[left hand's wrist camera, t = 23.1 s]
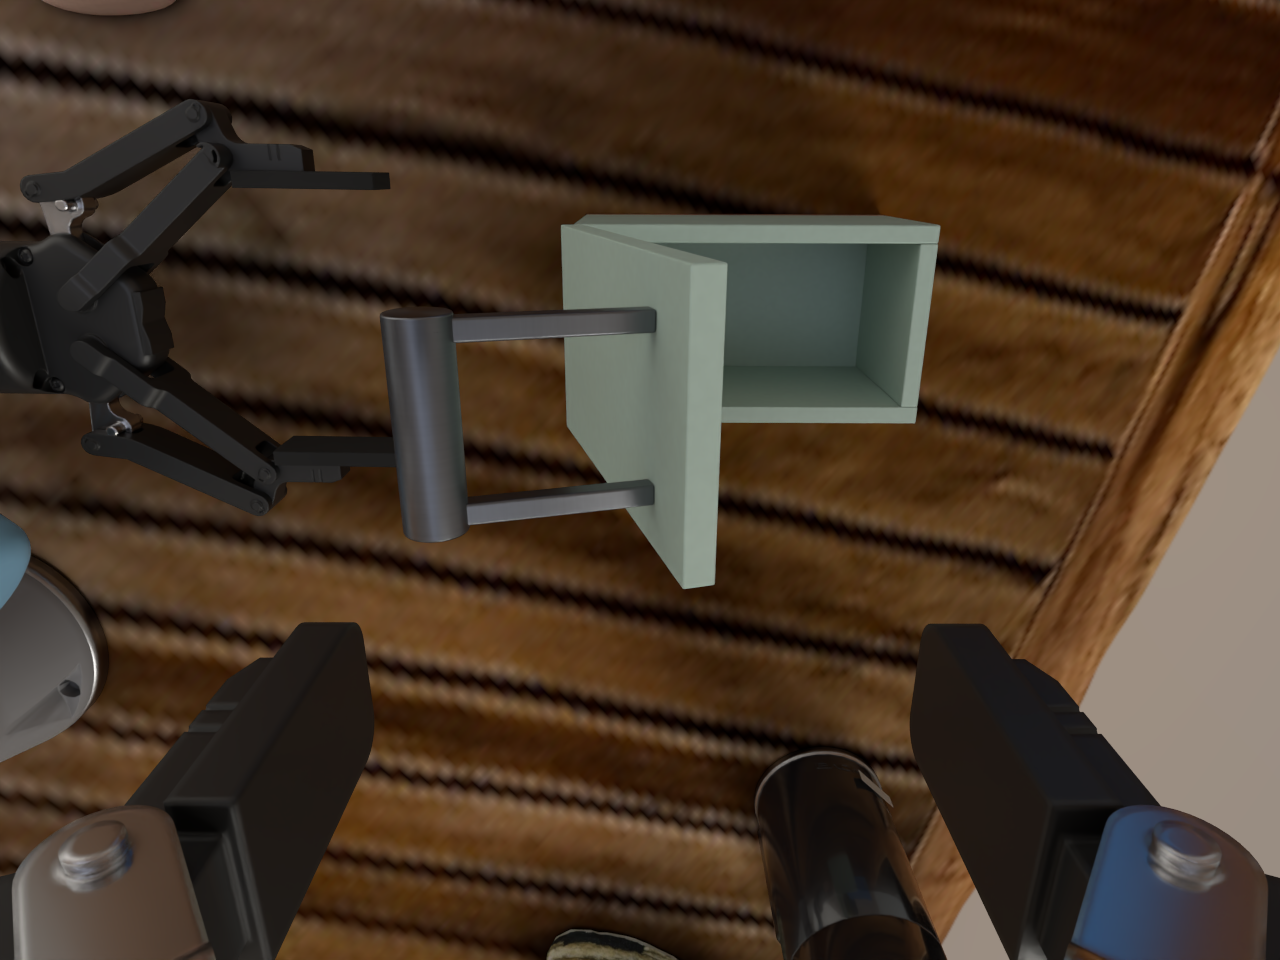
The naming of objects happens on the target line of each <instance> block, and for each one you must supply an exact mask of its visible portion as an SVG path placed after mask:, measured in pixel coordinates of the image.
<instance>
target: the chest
mask: <svg viewBox="0 0 1280 960" xmlns="http://www.w3.org/2000/svg"><path fill="white" fill-rule="evenodd" d="M574 225H586V226H590V227H594V228H597V229H601V230H605V231H609V232H613V233H616V234H620V235H624V236H628V237H632V238H635V239H639V240H643V241H647V242H651V243H654V244H658V245H662V246H666V247H669V248H673V249H677V250H681V251H685V252H688V253H692V254H696V255H700V256H704V257H707V258H711V259H715V260H719V261H723V262H726V263H727V265H728V266H727V290H726V315H725V340H724V364H723V389H722V414H721V422H725V423H915V421H916V413H917V403H918V396H919V388H920V380H921V372H922V365H923V357H924V349H925V342H926V334H927V326H928V318H929V311H930V303H931V295H932V287H933V280H934V272H935V264H936V256H937V249H938V244H937V243H938V240H939V233H940V225H936V224H930V223H924V222H918V221H912V220H907V219H901V218H895V217H889V216H885V215H839V214H586V215H585V216H584V217H583V218H581V219H580V220H579V221H577V222H576V223H575V224H574Z"/></svg>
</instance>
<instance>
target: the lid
mask: <svg viewBox="0 0 1280 960" xmlns="http://www.w3.org/2000/svg"><path fill="white" fill-rule="evenodd" d="M561 244H562V277H563V310H547V311H523V312H499V313H475V314H453V312H452V311H451V310H449V309H446V308H439V307H408V308H398V309H392V310H387V311H384V312H382V313H381V314H380V323H381V332H382V341H383V350H384V359H385V369H386V378H387V387H388V396H389V405H390V414H391V423H392V432H393V441H394V450H395V459H396V468H397V477H398V486H399V496H400V505H401V514H402V523H403V532H404V534H405V536H406V537H407V538H409V539H411V540H414V541H418V542H426V543H433V542H443V541H448V540H452V539H455V538H457V537H460V536H462V535H463V534H465V533H466V532H467V531H468V529H469V527H470V525H476V524H485V523H494V522H503V521H512V520H521V519H530V518H539V517H549V516H558V515H567V514H576V513H585V512H594V511H603V510H612V509H622V508H626V510H627V511H628V512H629V514H630V515H631V517H632V518H633V519H634V521H635V522H636V524H637V525H638V526H639V528H640V529H641V531H642V532H643V533H644V535H645V536H646V538H647V539H648V540H649V542H650V543H651V545H652V546H653V547H654V549H655V550H656V552H657V553H658V554H659V556H660V557H661V559H662V560H663V562H664V563H665V564H666V566H667V567H668V569H669V570H670V571H671V573H672V574H673V576H674V577H675V578H676V580H677V581H678V583H679V584H680V585H681V587H682V588H683V589H688V588H695V587H702V586H709V585H714V584H715V562H716V537H717V512H718V488H719V463H720V438H721V414H722V389H723V364H724V340H725V315H726V290H727V266H728V265H727V263H726V262H723V261H719V260H715V259H711V258H707V257H704V256H700V255H696V254H692V253H688V252H685V251H681V250H677V249H673V248H669V247H666V246H662V245H658V244H654V243H651V242H647V241H643V240H639V239H635V238H632V237H628V236H624V235H620V234H616V233H613V232H609V231H605V230H601V229H597V228H594V227H590V226H586V225H561ZM544 338H564V344H565V377H566V411H567V427H568V428H569V429H570V431H571V432H572V434H573V435H574V436H575V438H576V439H577V441H578V442H579V443H580V445H581V446H582V448H583V449H584V450H585V452H586V453H587V455H588V456H589V458H590V459H591V460H592V462H593V463H594V465H595V466H596V467H597V469H598V470H599V472H600V473H601V474H602V476H603V477H604V479H605V480H606V481H607V483H603V484H593V485H583V486H573V487H563V488H553V489H543V490H533V491H523V492H513V493H503V494H494V495H484V496H474V497H467V484H466V471H465V458H464V445H463V433H462V420H461V407H460V394H459V381H458V368H457V356H456V343H465V342H485V341H505V340H524V339H544Z"/></svg>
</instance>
